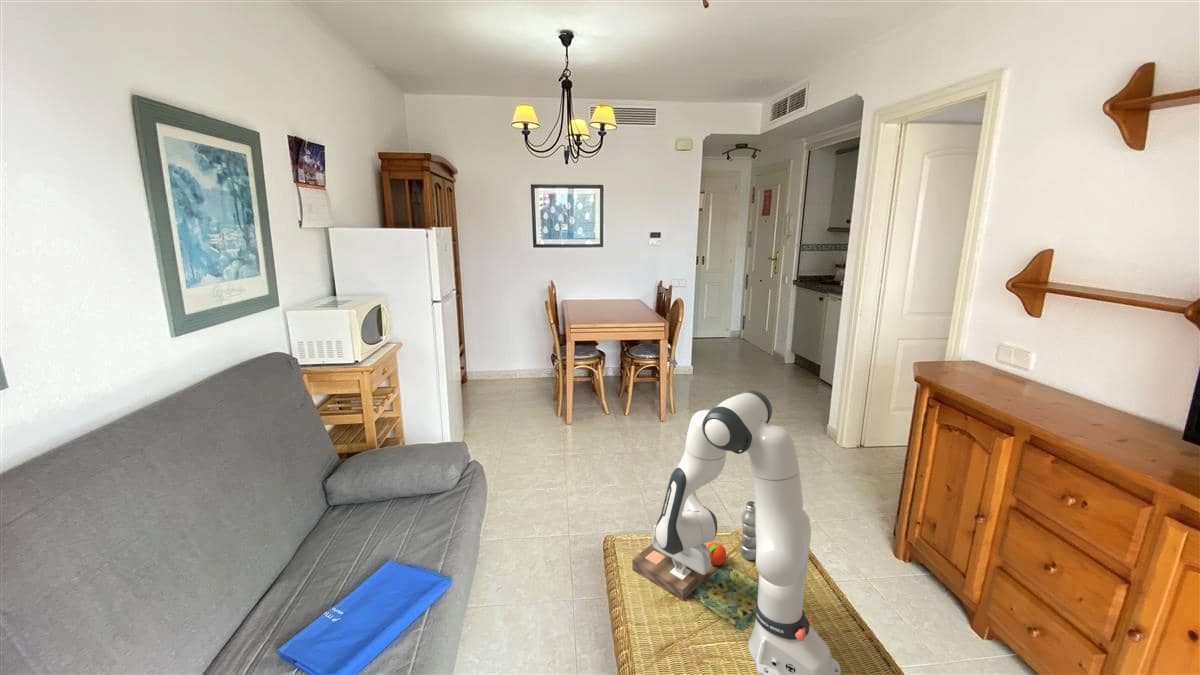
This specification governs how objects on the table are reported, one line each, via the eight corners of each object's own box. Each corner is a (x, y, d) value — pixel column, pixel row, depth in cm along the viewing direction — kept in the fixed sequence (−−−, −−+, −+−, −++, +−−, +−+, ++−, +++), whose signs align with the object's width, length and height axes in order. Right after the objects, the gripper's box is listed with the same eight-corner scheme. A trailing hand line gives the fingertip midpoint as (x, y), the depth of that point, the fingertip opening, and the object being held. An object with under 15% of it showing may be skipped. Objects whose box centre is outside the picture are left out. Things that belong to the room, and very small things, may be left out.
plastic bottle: (739, 561, 162) (741, 508, 157) (739, 548, 168) (742, 497, 163) (759, 564, 160) (762, 511, 155) (759, 551, 166) (762, 500, 162)
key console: (703, 579, 154) (704, 569, 153) (682, 600, 145) (682, 589, 144) (654, 552, 167) (654, 542, 166) (632, 569, 159) (632, 559, 158)
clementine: (716, 574, 156) (716, 555, 154) (698, 563, 161) (699, 545, 159) (730, 563, 161) (731, 544, 159) (713, 552, 166) (713, 535, 164)
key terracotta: (665, 564, 160) (665, 556, 159) (656, 571, 156) (656, 564, 155) (653, 557, 163) (653, 550, 162) (644, 564, 159) (644, 557, 159)
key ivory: (691, 578, 153) (691, 571, 152) (682, 587, 149) (682, 579, 149) (678, 571, 156) (678, 563, 156) (669, 579, 153) (669, 571, 152)
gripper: (715, 542, 144) (714, 582, 147) (660, 516, 158) (660, 552, 161) (704, 553, 140) (703, 593, 143) (649, 524, 153) (649, 561, 157)
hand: (680, 571), depth 152 cm, fingers closed, pressing on key ivory
